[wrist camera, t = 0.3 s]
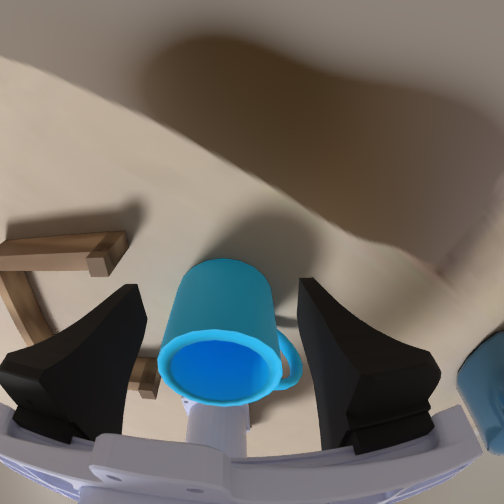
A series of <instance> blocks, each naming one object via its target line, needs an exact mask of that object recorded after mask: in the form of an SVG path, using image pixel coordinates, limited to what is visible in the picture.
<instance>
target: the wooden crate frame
mask: <svg viewBox="0 0 504 504" xmlns="http://www.w3.org/2000/svg"><path fill="white" fill-rule="evenodd" d="M128 248H129V246H128V241H127V237H126V232H125V231H113V232H99V233H85V234H72V235H60V236H48V237H37V238H26V239H15V240H5V241H4V242H3V243H1V244H0V294H1V297H2V299H3V301H4V303H5V305H6V307H7V309H8V311H9V313H10V315H11V317H12V319H13V321H14V323H15V325H16V327H17V329H18V331H19V332H20V334H21V336H22V338H23V339H24V341H25V343H26V345H27V346H28V347H29V346H32V345H34V344H37V343H39V342H41V341H44V340H46V339H48V338H50V337H52V336H53V334H52V332H51V330H50V328H49V326H48V324H47V322H46V320H45V318H44V316H43V314H42V312H41V310H40V307H39V305H38V303H37V301H36V299H35V296H34V294H33V292H32V289H31V287H30V284H29V282H28V279H27V277H26V274H25V271H79V270H89V272H90V275H91V277H109V276H110V274H111V273H112V271H113V270H114V268H115V267H116V265H117V264H118V262H119V261H120V260H121V258H122V257H123V255H124V254H125V252H126V251H127V250H128ZM157 359H158V358H142V357H137V358H136V361H135V364H134V367H133V370H132V373H131V376H130V380H129V383H128V389H127V390H135V391H139V393H140V395H141V397H142V398H145V399H156V397H157V393H158V388H159V384H160V380H161V375H160V373H159V372H158V361H157Z"/></svg>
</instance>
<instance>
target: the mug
mask: <svg viewBox="0 0 504 504" xmlns="http://www.w3.org/2000/svg"><path fill="white" fill-rule="evenodd" d="M280 350H281V351H282V352H283V354H284V356H285V357H286V359H287V360H288V363H289V366H290V375H289V377H287V378H285V379H281V377H282V374H283V371H282V363H281V356H280ZM157 361H158V372H159V373H160V375H161V377H162V378H163V380H164V382H165V383H166V384H167V385H168V386H169V387H170V388H171V389H173V390H174V391H175V392H176V393H178V394H180V395H182V396H183V397H185V398H187V399H189V400H192V401H195V402H198V403H202V404H205V405H213V406H222V407H225V406H239V405H244V404H247V403H251V402H255V401H257V400H259V399H261V398H263V397H265V396H266V395H268V394H270V393H271V392H272V391H273V390H285V389H288V388H290V387H292V386H294V385H296V384H297V383H298V381H299V379H300V378H301V376H302V374H303V364H302V361H301V359H300V356H299V353H298V352H297V350H296V349H295V347H294V346H293V344H292V343H291V342H290V341H289V340H288V339H287V338H286V337H285V335H284V334H282V333H281V332H280V331H279V330H278V329H277V327H276V320H275V313H274V306H273V299H272V292H271V287H270V285H269V283H268V282H267V280H266V278H265V276H264V275H262V274H261V273H260V272H259V271H258V270H257V269H255V268H254V267H253V266H251V265H248V264H246V263H244V262H242V261H239V260H233V259H225V258H220V259H213V260H207V261H205V262H202V263H200V264H198V265H196V266H194V267H193V268H192V269H191V270H190V271H188V272H187V273H186V274H185V275H184V276H183V279H182V281H181V283H180V285H179V288H178V291H177V294H176V297H175V300H174V304H173V307H172V310H171V313H170V317H169V320H168V324H167V327H166V330H165V334H164V337H163V341H162V344H161V348H160V352H159V355H158V359H157Z"/></svg>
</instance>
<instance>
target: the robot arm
mask: <svg viewBox="0 0 504 504" xmlns="http://www.w3.org/2000/svg"><path fill="white" fill-rule="evenodd" d="M297 320H298V326H299V332H300V337H301V340H302V343H303V347H304V350H305V354H306V357H307V361H308V364H309V367H310V371H311V374H312V379H313V384H314V390H315V396H316V403H317V410H318V418H319V426H320V436H321V447H322V451H317V452H310V453H302V454H293V455H282V456H268V457H247V443H246V433H248V432H250V419H249V404H248V403H247V404H244V405H239V406H225V407H222V406H213V405H205V404H202V403H198V402H195V401H192V400H189V399H187V398H185V397H183V396H182V397H181V400H182V403H183V405H184V408H185V410H186V413H187V415H188V425H187V434H186V442H174V441H163V440H154V439H146V438H139V437H132V436H126V435H122V423H123V414H124V406H125V399H126V394H127V389H128V383H129V380H130V376H131V373H132V370H133V367H134V364H135V361H136V358H137V355H138V353H139V350H140V347H141V344H142V341H143V338H144V334H145V329H146V324H147V316H146V312H145V309H144V306H143V302H142V299H141V295H140V292H139V288H138V285H137V284H125V285H123V286H122V287H121V288H119V289H118V290H117V291H115V292H114V293H113V294H112V295H110V296H109V297H108V298H107V299H106V300H104V301H103V302H102V303H101V304H99V305H98V306H97V307H96V308H94V309H93V310H92V311H90V312H89V313H88V314H87V315H85V316H84V317H83V318H81V319H80V320H78V321H77V322H76V323H74V324H73V325H71V326H69V327H68V328H66V329H65V330H63V331H61V332H59V333H57V334H55V335H54V336H52V337H50V338H48V339H46V340H44V341H41V342H39V343H37V344H34V345H32V346H29V347H27V348H24V349H20V350H17V351H14V352H10V353H8V354H7V355H6V357H5V359H4V360H3V362H2V363H1V365H0V384H1V386H2V387H3V388H4V390H5V391H6V392H7V393H8V395H9V396H10V397H11V398H12V399H13V401H14V402H15V403H16V404H17V405H18V407H17V409H16V411H15V410H14V409H12V408H11V407H9V406H7V405H5V404H2V403H0V461H1V462H2V463H3V464H5V465H6V466H8V467H9V468H10V469H12V470H13V471H15V472H17V473H19V474H21V475H23V476H25V477H27V478H28V479H30V480H32V481H34V482H36V483H38V484H40V485H42V486H44V487H46V488H48V489H50V490H53V491H55V492H57V493H59V494H61V495H64V496H66V497H68V498H71V499H73V500H76V501H78V504H393V503H396V502H399V501H401V500H404V499H406V498H409V497H411V496H414V495H416V494H418V493H421V492H423V491H426V490H428V489H430V488H432V487H435V486H437V485H439V484H441V483H443V482H446V481H448V480H449V479H451V478H453V477H454V476H455V475H457V474H458V473H459V472H461V471H462V470H463V469H465V468H466V467H467V466H469V465H470V464H471V463H472V462H474V461H475V460H476V459H477V458H478V457H480V456H481V455H482V453H483V451H482V449H481V446H480V444H479V442H478V440H477V438H476V435H475V433H474V431H473V429H472V427H471V425H470V423H469V421H468V419H467V417H466V415H465V413H464V411H463V409H462V407H461V405H456V406H454V407H451V408H449V409H446V410H443V411H441V412H439V413H436V414H435V415H433V416H432V417H430V414H429V412H428V411H429V410H430V409H431V406H430V404H429V402H428V399H429V397H430V396H431V394H432V393H433V391H434V390H435V388H436V386H437V385H438V383H439V381H440V378H441V371H440V368H439V367H438V365H437V363H436V361H435V360H434V358H433V356H432V355H431V353H430V352H429V351H426V350H423V349H419V348H416V347H413V346H410V345H407V344H405V343H402V342H400V341H398V340H395V339H393V338H391V337H389V336H387V335H385V334H383V333H381V332H379V331H377V330H376V329H374V328H372V327H371V326H369V325H367V324H366V323H364V322H363V321H361V320H360V319H359V318H357V317H356V316H354V315H353V314H352V313H351V312H349V311H348V310H347V309H346V308H344V307H343V306H342V305H341V304H340V303H339V302H338V301H336V300H335V299H334V298H333V297H332V296H331V295H330V294H329V293H328V292H327V291H326V290H325V289H324V288H323V287H322V286H321V285H320V284H319V283H318V282H317V281H316V280H315V279H314V278H313V277H312V278H299V290H298V305H297Z"/></svg>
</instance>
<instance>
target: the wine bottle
mask: <svg viewBox="0 0 504 504" xmlns="http://www.w3.org/2000/svg"><path fill="white" fill-rule="evenodd" d="M456 389H457V390H458V392H459V394H460V396H461V398H462V400H463V402H464V404H465V405H466V407H467V409H468V411H469V413H470V415H471V417H472V419H473V421H474V423H475V425H476V427H477V429H478V432H479V434H480V436H481V438H482V440H483V442H484V445H485V447H486V449H487V450H488V451H489V452H490V453H492V454H494V455H498V456H500V455H504V331H501V332H498V333H496V334H495V335H493V336H492V337H491V338H489V339H488V340H486V341H485V342H484V343H482V344H481V345H480V346H479V347H478V348H477V349H476V350H475V351H474V353H473V354H472V355H471V356H470V357H469V358H468V359H467V360H466V361H465V363H464V364H463V366H462V367H461V369H460V370H459V372H458V373H457V380H456Z"/></svg>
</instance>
